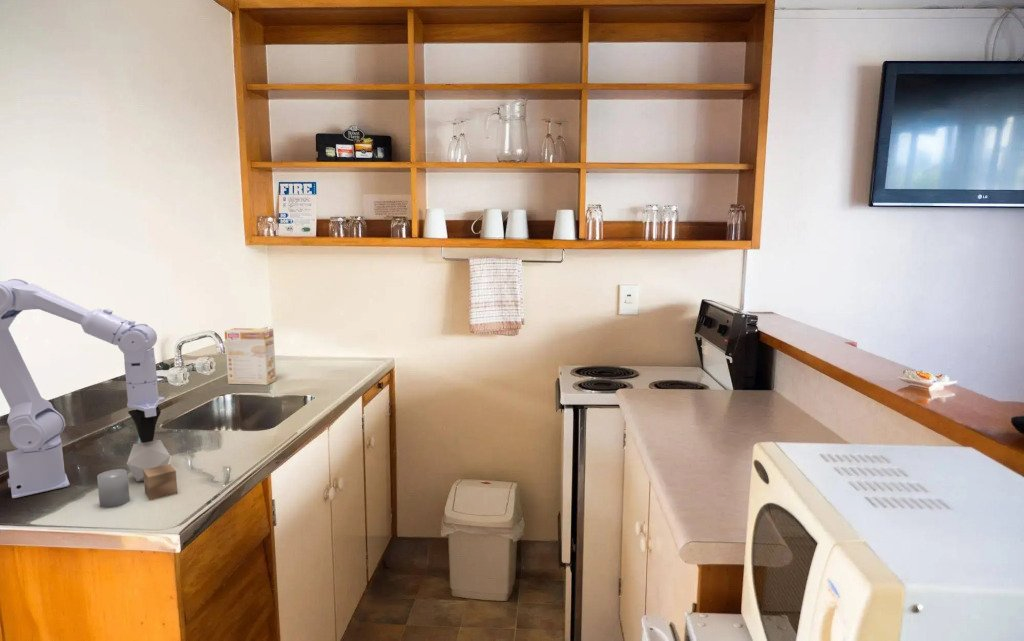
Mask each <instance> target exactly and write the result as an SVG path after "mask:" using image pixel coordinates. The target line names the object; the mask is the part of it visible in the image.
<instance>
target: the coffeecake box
mask: <svg viewBox="0 0 1024 641" xmlns="http://www.w3.org/2000/svg"><path fill="white" fill-rule="evenodd" d="M274 338H275V336H274V329H273V328H254V327H253V328H249V327H248V328H243V327H240V328H239V327H236V328H234V327H233V328H230V329H227V330H224V339H225V340H224V341H225V354H226V355H225V356H226V358H225V359H226V370H227V371H226V372H227V384H228V385H259V386H268V385H270V384H272V383H274V382H277V374H276V373H277V371H276V356H275V355H276V352H275V339H274Z"/></svg>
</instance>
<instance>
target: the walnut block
mask: <svg viewBox="0 0 1024 641" xmlns="http://www.w3.org/2000/svg"><path fill="white" fill-rule="evenodd" d="M143 475H144V480H143V484H144V493H145V494H146V496H147V498H148V500H149V501H152V500H156V499H161V498H165V497H169V496H173V495H177V494H178V484H177V482H178V481H177V471H176V469H175V468H174V467H173V465H171V463H168V465H163V466H158V467H154V468H149V469H145V470H143Z"/></svg>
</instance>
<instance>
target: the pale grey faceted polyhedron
mask: <svg viewBox="0 0 1024 641" xmlns="http://www.w3.org/2000/svg"><path fill="white" fill-rule="evenodd" d="M170 459H171V455H170V453H169V451H168V450H167V448H166V447H165V445H164V444H163V442H162V441H161V439H156V440H153V441H151V442H146V443H142V442H138V443H133V445H132V447H131V450H130V453H129V456H128V459H127V462H126V466H127V467H128V469H129V471H130V472H131V474H132V476H133V477H134V479H135V481H136V482H137V483H138V482H144V475H143V470H145V469H149V468H154V467H158V466H163V465H168V464H169V462H170Z"/></svg>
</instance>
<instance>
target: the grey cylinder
mask: <svg viewBox="0 0 1024 641" xmlns="http://www.w3.org/2000/svg"><path fill="white" fill-rule="evenodd" d="M96 479H97V489H98V498H99V499H98V500H99V501H98V502H99V506H100V508H103V509H114V508H117V507H121V506H123V505H126V504H127V503H129V501H130V498H131V497H130V489H129V478H128V470H126V469H123V468H116V469H110V470H106V471H103V472H101V473H99V474H98V475H96Z"/></svg>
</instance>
